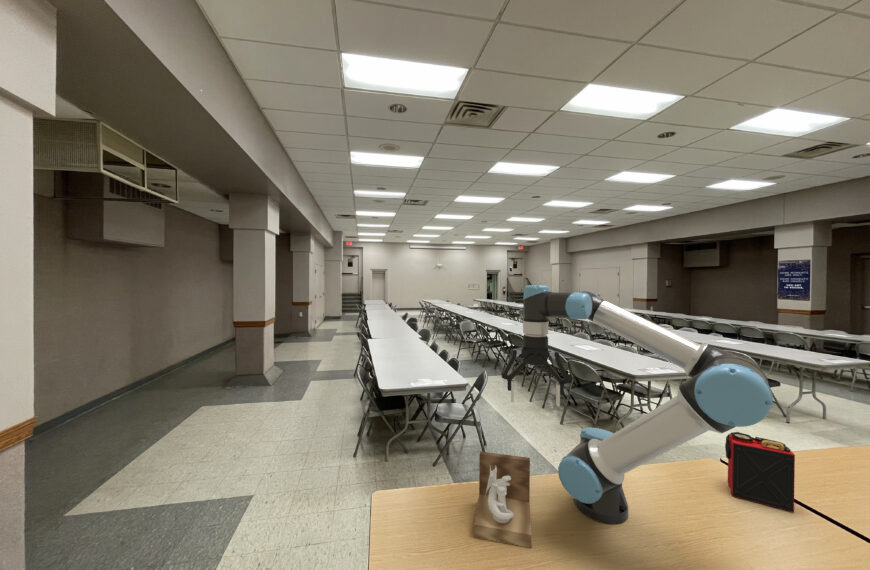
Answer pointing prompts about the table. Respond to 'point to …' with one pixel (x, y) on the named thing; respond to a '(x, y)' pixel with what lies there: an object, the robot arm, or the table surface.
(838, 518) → the table surface
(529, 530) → the wall shelf
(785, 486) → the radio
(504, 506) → the figurine
